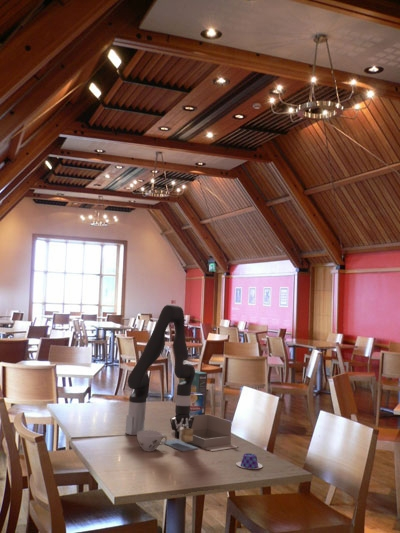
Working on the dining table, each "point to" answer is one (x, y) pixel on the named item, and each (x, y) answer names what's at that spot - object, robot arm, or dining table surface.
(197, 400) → the beverage box
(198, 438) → the carton
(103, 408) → the dining table surface
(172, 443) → the mat
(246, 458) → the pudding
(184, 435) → the block
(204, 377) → the cake mix box
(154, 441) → the teacup
